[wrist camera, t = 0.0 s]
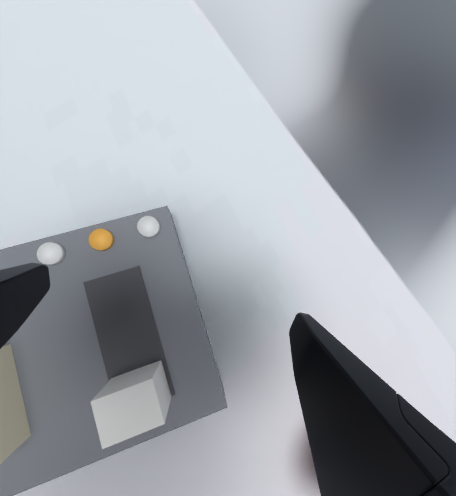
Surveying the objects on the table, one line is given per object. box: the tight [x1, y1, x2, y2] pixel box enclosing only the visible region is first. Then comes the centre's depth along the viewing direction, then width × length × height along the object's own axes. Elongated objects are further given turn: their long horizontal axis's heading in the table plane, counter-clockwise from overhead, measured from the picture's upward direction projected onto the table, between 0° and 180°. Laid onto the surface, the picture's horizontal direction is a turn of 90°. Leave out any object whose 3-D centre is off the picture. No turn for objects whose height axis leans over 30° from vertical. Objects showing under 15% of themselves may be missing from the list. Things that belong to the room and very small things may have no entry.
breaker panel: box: [0, 206, 227, 496], centre depth 19 cm, size 18×24×4 cm
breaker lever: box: [91, 360, 171, 449], centre depth 17 cm, size 3×4×4 cm
